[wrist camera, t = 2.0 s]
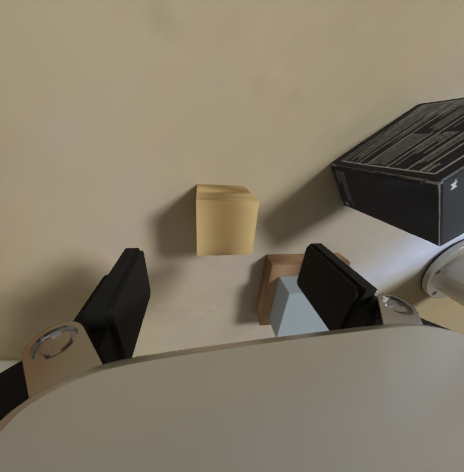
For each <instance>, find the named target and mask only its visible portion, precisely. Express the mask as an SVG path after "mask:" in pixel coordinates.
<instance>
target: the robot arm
mask: <svg viewBox="0 0 464 472" xmlns="http://www.w3.org/2000/svg"><path fill="white" fill-rule="evenodd" d="M297 285H298V287H299V288H300V290H301V291H302V293H303V294H304V295H305V297H306V298H307V300H308V301H309V302H310V304H311V305H312V307H313V308H314V310H315V311H316V312H317V314H318V315H319V317H320V318H321V320H322V321H323V322H324V324H325V325H326V327H327V328H328V329H329V331H322V332H314V333H306V334H298V335H290V336H282V337H274V338H267V339H259V340H251V341H244V342H236V343H229V344H221V345H214V346H206V347H199V348H191V349H184V350H178V351H171V352H164V353H158V354H151V355H144V356H139V357H134V358H132V355H133V352H134V349H135V345H136V342H137V338H138V335H139V332H140V328H141V325H142V322H143V318H144V315H145V312H146V308H147V305H148V302H149V298H150V286H149V280H148V274H147V268H146V263H145V257H144V252H143V251H140V250H139V248H126V249H125V250H124V252H123V253H122V255H121V256H120V258H119V259H118V261H117V262H116V264H115V265H114V267H113V268H112V270H111V271H110V273H109V274H108V275H106V276H104V277H103V278H102V280H101V281H100V283H99V284H98V286H97V287H96V289H95V290H94V292H93V293H92V294H91V296H90V297H89V299H88V300H87V302H86V303H85V305H84V306H83V308H82V309H81V311H80V312H79V313H78V315H77V316H76V318H75V319H74V321H73V322H64V323H60V324H57V325H55V326H52V327H50V328H48V329H47V330H45V331H43V332H41V333H40V334H39V335H38V336H36V337H35V338H34V339H33V340H32V341H31V342H30V343H29V344H28V345H27V346H26V348H25V350H24V352H23V355H22V361H20V362H19V363H17V364H15V365H13V366H12V367H10V368H8V369H7V370H5V371H3V372H2V373H0V472H464V335H462V334H459V333H457V332H454V331H451V330H449V329H446V328H444V327H441V326H439V325H436V324H434V323H431V322H429V321H426V320H424V319H422V318H420V316H419V314H418V312H417V311H416V309H415V308H414V307H413V306H412V305H411V304H410V303H408V302H407V301H405V300H403V299H402V298H400V297H397V296H395V295H392V294H387V293H382V294H379V295H378V297H376V296H375V295H374V294H375V292H376V291H377V289H376V288H375V287H374V286H373V285H371V284H370V283H369V282H368V281H366V280H365V279H364V278H363V277H362V276H360V275H359V274H358V273H357V272H355V271H354V270H353V269H352V268H351V267H349V266H348V265H347V264H346V263H344V262H343V261H342V260H341V259H340V258H338V257H337V256H336V255H335V254H333V253H332V252H331V251H330V250H328V249H327V248H326V247H325V246H324V245H322V244H321V243H315V244H310V245H309V246H308V247H307V248H306V252H305V255H304V258H303V262H302V265H301V268H300V272H299V275H298V278H297ZM422 289H423V291H424V292H425V293H427V294H428V295H430V296H431V297H434V298H446V297H450V298H451V299H453V300H455V301H456V302H458V303H459V304H461V305H463V306H464V240H463V241H461V242H459V243H457V244H455V245H454V246H452V247H451V248H449V249H448V250H446V251H445V252H444V253H442V254H441V255H440V256H439V257H438V258H437V259H436V260H435V261H434V262H433V263H432V264H431V265H430V267H429V268H428V269H427V271H426V273H425V275H424V277H423V280H422Z"/></svg>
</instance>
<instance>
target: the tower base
mask: <svg viewBox="0 0 464 472" xmlns="http://www.w3.org/2000/svg"><path fill="white" fill-rule="evenodd" d="M333 254H335V255H336V256H337V257H338V258H340V259H341V260H342V261H343V262H344V263H346V264H347V265H348V266H349V265H350V262H349V261H348V260H347V259H345V258H344V257H343V256H342V255H340V254H339V253H333ZM304 255H305V254H277V255H266V259H265V265H264V270H263V275H262V281H261V286H260V292H259V297H258V303H257V308H256V314H257V317H258V320H259V323H260V325H269V324H271V323H270V320H269V317H270V313H271V309H272V305H273V301H274V297H275V293H276V289H277V285H278V281H279V277H283V276H298V275H299V272H300V268H301V265H302V262H303V258H304Z"/></svg>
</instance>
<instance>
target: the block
mask: <svg viewBox="0 0 464 472" xmlns="http://www.w3.org/2000/svg"><path fill="white" fill-rule="evenodd" d="M258 209H259V201H258V200H257V199H256V198H255V197H254V196H253V195H252V194H251V193H250V192H249V191H248V190H247V189H246V188H245V187H244V186H227V185H203V184H197V194H196V226H197V256H208V255H250V254H252V251H253V244H254V237H255V230H256V223H257V216H258Z"/></svg>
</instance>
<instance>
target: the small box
mask: <svg viewBox="0 0 464 472" xmlns="http://www.w3.org/2000/svg"><path fill="white" fill-rule="evenodd" d="M331 166H332V170H333V172H334V174H335V177H336V180H337V184H338V186H339V190H340V193H341V197H342V200H343V202H344V204H345V206H348V207H351V208H353V209H355V210H358V211H360V212H362V213H365V214H367V215H369V216H372V217H374V218H376V219H379V220H381V221H383V222H385V223H388V224H390V225H392V226H395V227H397V228H399V229H402V230H404V231H406V232H408V233H411V234H413V235H416V236H418V237H420V238H423V239H425V240H427V241H430V242H432V243H434V244H436V245H438V246H442V245H443V244H445V243H447V242H449V241H450V240H452V239H454V238H456V237H458V236H459V235H461V234H463V233H464V98H458V99H451V100H445V101H438V102H430V103H422V104H419V105H417V106H416V107H414V108H413V109H411V110H410V111H408V112H407V113H405V114H404V115H402V116H401V117H399V118H398V119H396V120H395V121H393V122H392V123H390V124H389V125H387V126H386V127H384V128H383V129H381V130H380V131H379V132H377V133H376V134H374V135H373V136H371V137H370V138H368V139H367V140H365V141H364V142H362V143H361V144H359V145H358V146H356V147H355V148H353V149H352V150H350V151H349V152H348V153H346V154H345V155H343V156H342V157H340V158H339V159H337V160H336V161H335V162H333V163H332V165H331Z"/></svg>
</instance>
